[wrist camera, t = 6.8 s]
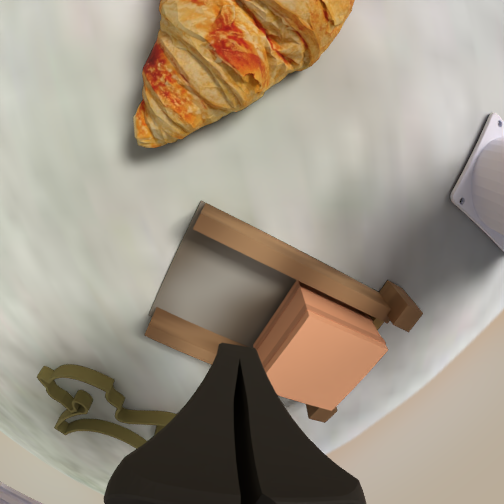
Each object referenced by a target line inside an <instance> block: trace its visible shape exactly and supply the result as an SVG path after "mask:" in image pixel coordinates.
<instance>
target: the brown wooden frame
mask: <svg viewBox="0 0 504 504" xmlns="http://www.w3.org/2000/svg"><path fill="white" fill-rule="evenodd" d="M296 280H298V281H300V282H302V283H304V284H306V285H308V286H311V287H313V288H315V289H317V290H319V291H321V292H323V293H325V294H327V295H329V296H331V297H333V298H335V299H337V300H340V301H342V302H344V303H346V304H348V305H350V306H352V307H354V308H356V309H358V310H360V311H362V312H364V313H367V314H368V315H369V316H370V317H371V318H372V320H373V324H374V326H375V327H376V329H377V330H378V329H379V328H380V326H381V325H382V324H383V323H384V322H385V323H387V324H388V322H389V321H391V322H392V324H393V325H395V326H397V327H399V328H401V329H403V330H405V331H407V332H409V331H410V330H411V329H412V327H413V326H414V325H415V323H416V322H417V321H418V320H419V318H420V317H421V316H422V314H423V313H422V311H421V310H420V309H419V308H418V306H417V305H416V304H415V303H414V302H413V300H412V299H411V298H410V297H409V296H408V294H407V293H406V292H405V291H404V290H403V289H402V288H401V287H399V286H397V285H396V284H394V283H392V282H390V281H389V280H387V282H386V283H385V285H384V286H383V287H382V289H381V290H380V292H378V291H376V290H374V289H372V288H370V287H368V286H366V285H365V284H363V283H361V282H359V281H357V280H355V279H353V278H351V277H350V276H348V275H346V274H344V273H342V272H340V271H338V270H336V269H334V268H332V267H331V266H329V265H327V264H325V263H323V262H321V261H319V260H317V259H315V258H313V257H311V256H310V255H308V254H306V253H304V252H302V251H300V250H298V249H296V248H294V247H292V246H290V245H288V244H286V243H284V242H282V241H280V240H279V239H277V238H275V237H273V236H271V235H269V234H267V233H265V232H263V231H261V230H259V229H257V228H255V227H253V226H251V225H249V224H247V223H245V222H243V221H241V220H239V219H237V218H235V217H233V216H231V215H229V214H227V213H225V212H223V211H221V210H219V209H217V208H215V207H213V206H211V205H209V204H207V203H205V202H203V201H201V202H200V204H199V206H198V208H197V210H196V212H195V215H194V217H193V219H192V221H191V223H190V225H189V227H188V229H187V231H186V233H185V235H184V237H183V240H182V242H181V244H180V246H179V248H178V250H177V252H176V254H175V257H174V259H173V261H172V263H171V265H170V268H169V270H168V272H167V274H166V276H165V279H164V281H163V283H162V285H161V288H160V290H159V292H158V295H157V297H156V299H155V301H154V304H153V306H152V308H151V311H150V313H149V316H151V317H152V319H151V321H150V323H149V326H148V328H147V330H146V333H145V336H147V337H149V338H151V339H153V340H155V341H158V342H160V343H162V344H164V345H167V346H169V347H171V348H173V349H176V350H178V351H180V352H183V353H185V354H187V355H190V356H192V357H194V358H197V359H199V360H202V361H204V362H207V363H209V364H213V361H214V359H215V357H216V354H217V351H218V346H219V344H220V343H222V342H223V343H228V344H234V345H240V346H245V347H252V348H253V344H254V343H255V341H256V340H257V338H258V337H259V335H260V334H261V332H262V331H263V330H264V328H265V327H266V325H267V324H268V322H269V321H270V319H271V318H272V316H273V315H274V313H275V312H276V310H277V309H278V307H279V306H280V304H281V303H282V301H283V300H284V298H285V297H286V295H287V294H288V292H289V291H290V289H291V288H292V286H293V285H294V283H295V282H296ZM306 407H307V412H308V417H309V419H313V420H317V421H321V422H326V421H327V420H328V419H329V418H331V417H332V416H333V415H334V414H335V413H336V412H337V407H335V408H334V409H333V410H332V411H330V410H327V409H323V408H319V407H316V406H312V405H309V404H306Z"/></svg>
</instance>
